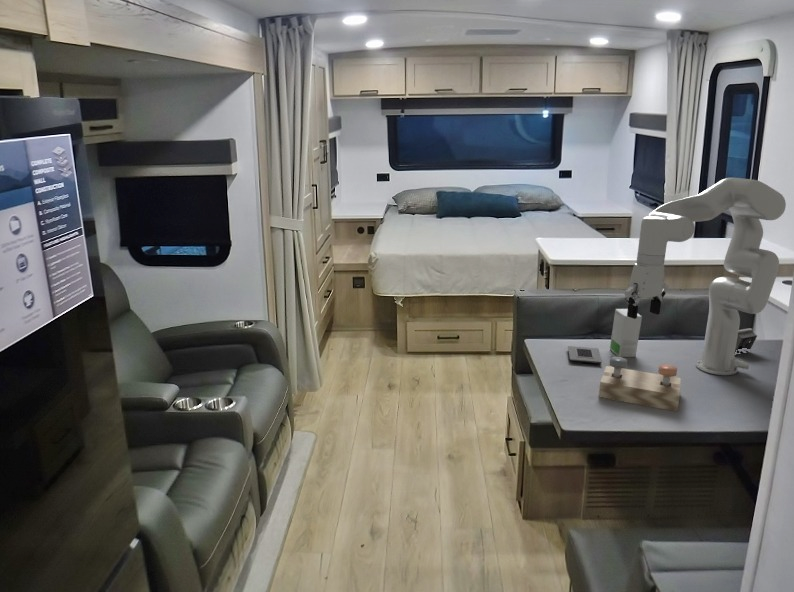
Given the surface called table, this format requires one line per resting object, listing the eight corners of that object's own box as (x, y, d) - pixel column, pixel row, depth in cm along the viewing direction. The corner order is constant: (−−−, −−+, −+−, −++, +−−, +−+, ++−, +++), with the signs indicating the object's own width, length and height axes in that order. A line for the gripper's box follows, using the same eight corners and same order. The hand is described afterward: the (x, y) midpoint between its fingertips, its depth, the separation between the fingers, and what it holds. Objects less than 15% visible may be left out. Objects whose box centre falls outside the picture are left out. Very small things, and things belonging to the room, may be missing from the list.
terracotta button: (674, 386, 193) (677, 366, 192) (673, 392, 189) (676, 372, 187) (656, 383, 195) (659, 363, 194) (655, 389, 191) (658, 369, 189)
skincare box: (609, 349, 233) (614, 308, 229) (626, 348, 234) (631, 308, 230) (619, 357, 225) (624, 315, 221) (637, 357, 226) (642, 315, 222)
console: (678, 392, 198) (680, 377, 196) (677, 411, 186) (679, 395, 184) (604, 380, 206) (606, 365, 205) (598, 397, 194) (600, 381, 193)
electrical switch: (741, 349, 236) (747, 326, 232) (753, 355, 231) (760, 331, 228) (722, 352, 232) (728, 329, 229) (734, 358, 228) (741, 335, 224)
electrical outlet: (601, 367, 218) (602, 361, 217) (569, 364, 220) (570, 358, 219) (597, 353, 230) (598, 347, 229) (567, 351, 232) (568, 345, 231)
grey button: (625, 377, 199) (628, 358, 197) (624, 383, 194) (626, 363, 193) (608, 375, 201) (611, 355, 199) (606, 380, 196) (609, 361, 195)
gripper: (660, 254, 194) (652, 308, 199) (619, 259, 186) (612, 315, 190) (681, 259, 188) (673, 315, 192) (640, 264, 179) (632, 323, 184)
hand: (643, 315), depth 191 cm, fingers open, 9 cm apart
